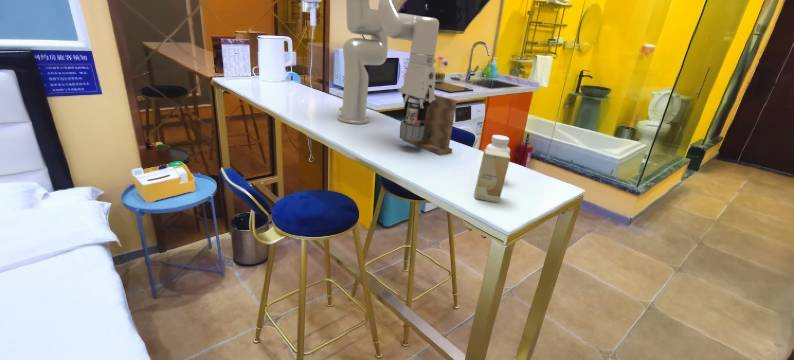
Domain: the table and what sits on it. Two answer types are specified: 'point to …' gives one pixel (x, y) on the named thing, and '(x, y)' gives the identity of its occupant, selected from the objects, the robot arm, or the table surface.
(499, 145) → the supplement bottle
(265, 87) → the table surface
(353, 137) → the table surface
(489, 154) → the skincare box
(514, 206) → the table surface
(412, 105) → the beer can
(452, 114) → the cup bracket
